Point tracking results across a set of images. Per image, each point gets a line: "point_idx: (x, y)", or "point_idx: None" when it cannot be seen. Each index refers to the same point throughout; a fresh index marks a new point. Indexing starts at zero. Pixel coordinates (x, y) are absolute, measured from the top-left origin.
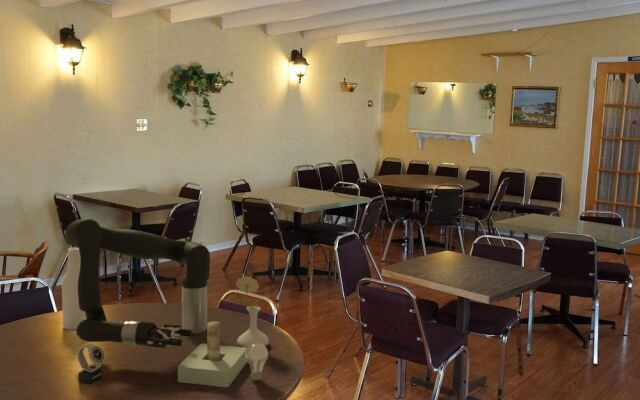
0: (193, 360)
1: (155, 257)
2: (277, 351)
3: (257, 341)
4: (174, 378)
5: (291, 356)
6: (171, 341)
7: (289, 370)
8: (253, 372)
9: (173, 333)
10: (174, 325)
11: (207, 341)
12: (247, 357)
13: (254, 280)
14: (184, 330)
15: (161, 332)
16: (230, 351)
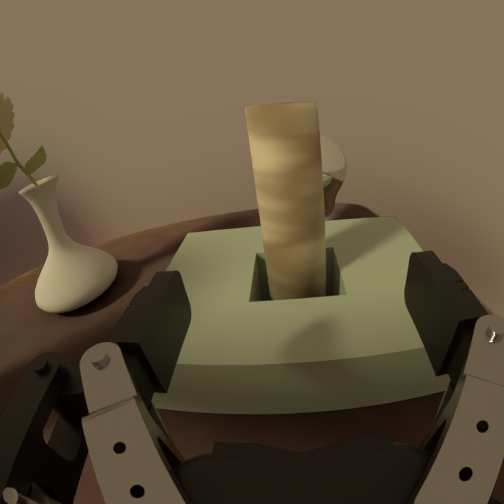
0: (376, 315)
1: None
2: (131, 250)
3: (105, 255)
4: (429, 422)
5: (164, 230)
6: (478, 311)
7: (243, 216)
8: (330, 213)
9: (168, 441)
10: (10, 417)
11: (311, 206)
12: (343, 171)
13: (9, 103)
14: (157, 316)
15: (439, 493)
16: (224, 251)
